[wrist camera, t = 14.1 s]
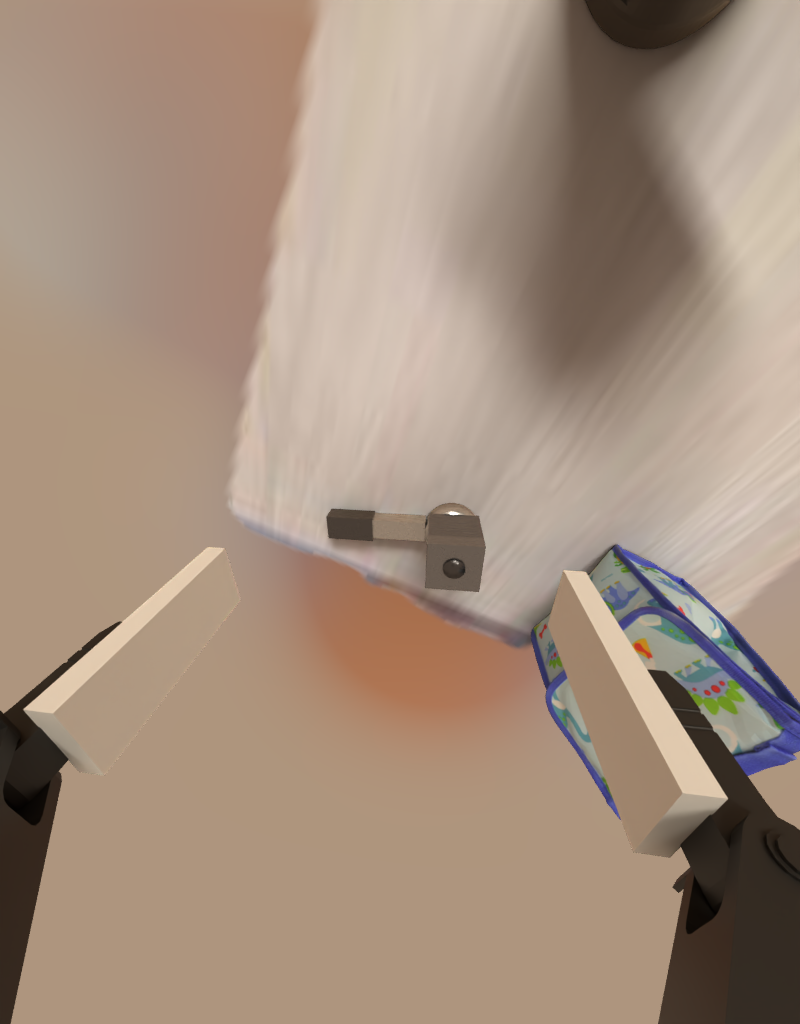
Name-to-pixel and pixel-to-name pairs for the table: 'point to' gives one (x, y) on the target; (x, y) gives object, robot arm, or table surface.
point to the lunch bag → (680, 666)
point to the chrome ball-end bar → (385, 524)
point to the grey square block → (454, 552)
